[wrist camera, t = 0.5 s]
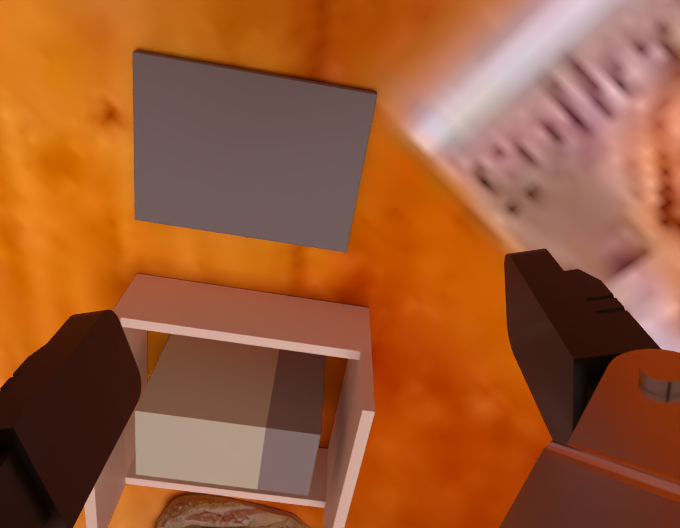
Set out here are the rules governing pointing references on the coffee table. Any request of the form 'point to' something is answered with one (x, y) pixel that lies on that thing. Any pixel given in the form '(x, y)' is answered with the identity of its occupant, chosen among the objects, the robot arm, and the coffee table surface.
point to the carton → (260, 330)
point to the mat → (247, 151)
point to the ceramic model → (223, 514)
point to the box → (231, 415)
